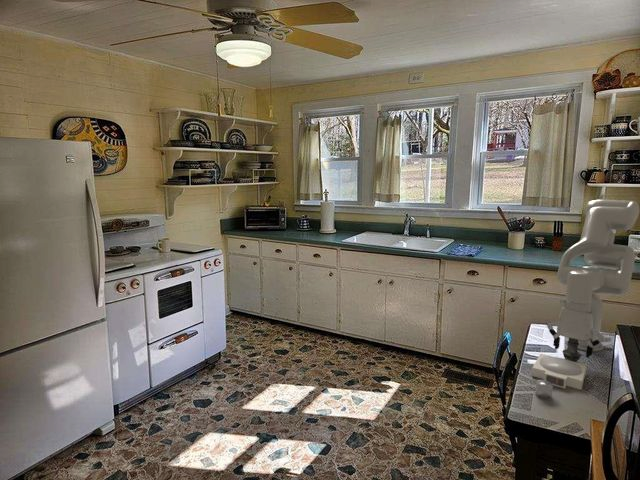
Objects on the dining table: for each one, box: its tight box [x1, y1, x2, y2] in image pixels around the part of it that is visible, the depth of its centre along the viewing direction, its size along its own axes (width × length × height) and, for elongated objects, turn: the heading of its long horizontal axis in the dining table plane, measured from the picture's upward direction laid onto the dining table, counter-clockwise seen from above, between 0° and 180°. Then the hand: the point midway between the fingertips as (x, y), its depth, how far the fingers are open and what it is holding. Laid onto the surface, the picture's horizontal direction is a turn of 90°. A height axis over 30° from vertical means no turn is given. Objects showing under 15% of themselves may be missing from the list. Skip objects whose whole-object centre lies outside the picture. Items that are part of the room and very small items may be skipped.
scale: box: [531, 353, 588, 390], centre depth 134 cm, size 17×14×4 cm
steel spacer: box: [534, 379, 554, 401], centre depth 121 cm, size 4×4×4 cm
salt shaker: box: [561, 338, 583, 363], centre depth 143 cm, size 6×6×12 cm
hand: (572, 352), depth 144 cm, fingers open, 9 cm apart
